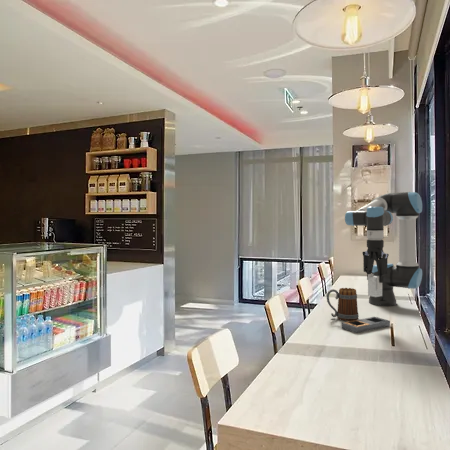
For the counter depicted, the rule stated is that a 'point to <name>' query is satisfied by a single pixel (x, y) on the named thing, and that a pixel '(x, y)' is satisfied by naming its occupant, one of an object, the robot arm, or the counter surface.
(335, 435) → the counter surface
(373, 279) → the steel peg
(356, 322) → the rail plate
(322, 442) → the counter surface
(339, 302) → the mug
